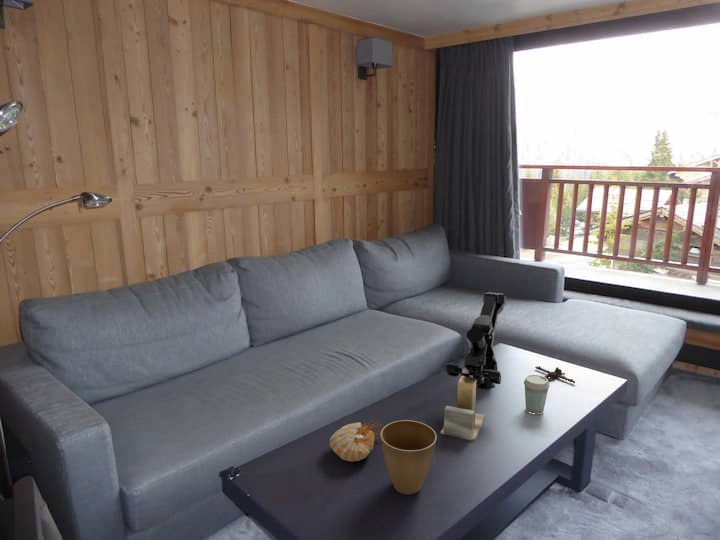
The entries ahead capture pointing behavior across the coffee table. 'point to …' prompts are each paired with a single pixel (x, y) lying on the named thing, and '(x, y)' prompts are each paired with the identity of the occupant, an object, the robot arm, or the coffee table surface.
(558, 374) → the dark brown branching piece
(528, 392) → the coffee cup
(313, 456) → the coffee table surface
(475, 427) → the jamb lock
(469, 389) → the latch bar
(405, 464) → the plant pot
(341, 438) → the nautilus
